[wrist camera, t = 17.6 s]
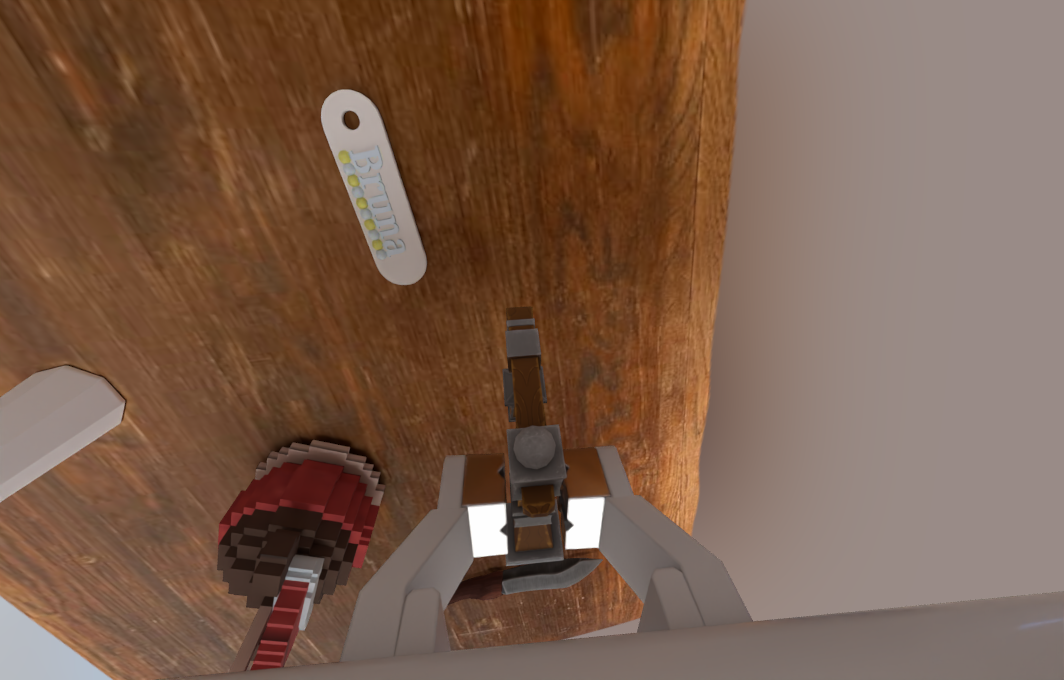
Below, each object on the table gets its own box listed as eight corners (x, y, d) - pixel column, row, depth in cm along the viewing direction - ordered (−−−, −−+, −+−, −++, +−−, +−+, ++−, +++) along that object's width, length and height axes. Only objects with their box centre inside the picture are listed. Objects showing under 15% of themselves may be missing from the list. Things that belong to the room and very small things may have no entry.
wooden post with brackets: (560, 276, 9) (600, 486, 6) (548, 431, 15) (564, 567, 12) (476, 281, 9) (478, 498, 6) (500, 435, 15) (506, 573, 12)
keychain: (308, 95, 20) (367, 83, 20) (312, 96, 20) (370, 84, 20) (384, 291, 25) (432, 281, 25) (386, 287, 25) (433, 278, 25)
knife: (599, 545, 40) (607, 574, 38) (601, 554, 41) (608, 583, 38) (420, 581, 41) (416, 613, 38) (425, 589, 41) (421, 621, 39)
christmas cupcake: (269, 416, 29) (15, 757, 14) (398, 444, 32) (306, 762, 16) (258, 511, 34) (58, 850, 18) (371, 529, 36) (280, 843, 21)
